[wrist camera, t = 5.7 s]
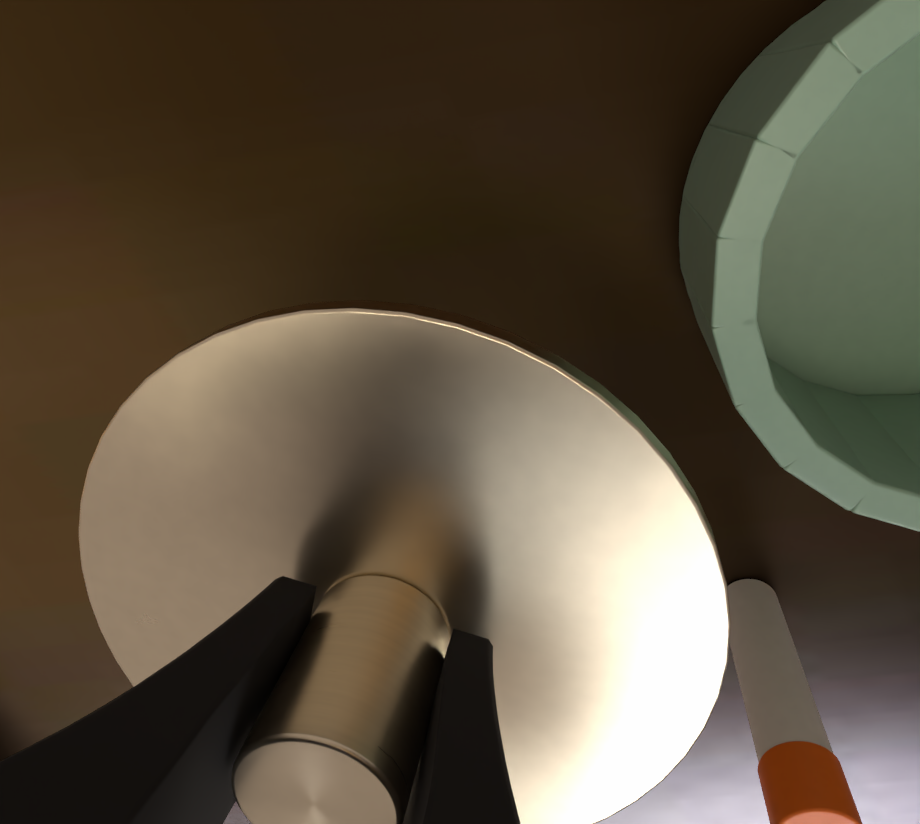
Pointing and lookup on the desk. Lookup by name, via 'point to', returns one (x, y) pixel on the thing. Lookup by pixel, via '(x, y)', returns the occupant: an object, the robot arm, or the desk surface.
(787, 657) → the marker
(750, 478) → the desk surface
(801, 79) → the canister
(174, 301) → the desk surface
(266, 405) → the canister lid
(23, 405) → the desk surface
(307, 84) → the desk surface
